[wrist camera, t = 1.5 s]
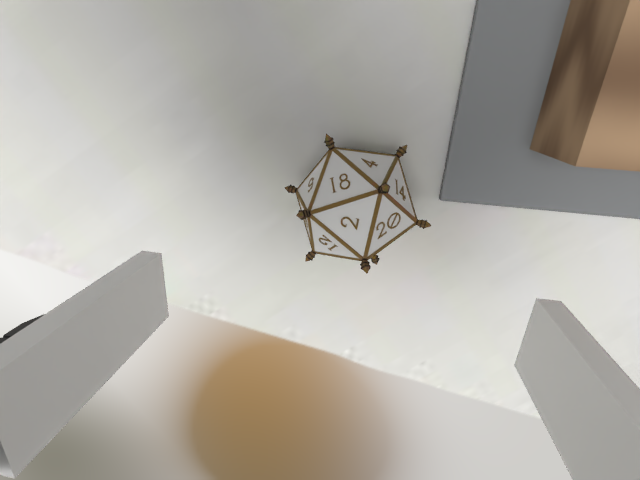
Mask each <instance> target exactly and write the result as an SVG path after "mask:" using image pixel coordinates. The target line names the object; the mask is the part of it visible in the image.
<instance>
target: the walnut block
mask: <svg viewBox="0 0 640 480" xmlns="http://www.w3.org/2000/svg"><path fill="white" fill-rule="evenodd" d="M530 150H533V151H536V152H538V153H541V154H544V155H546V156H549V157H552V158H554V159H557V160H560V161H562V162H565V163H568V164H570V165H573V166H577V167H589V168H602V169H614V170H627V171H639V172H640V0H571V1H570V5H569V8H568V12H567V16H566V19H565V23H564V27H563V30H562V34H561V37H560V41H559V45H558V48H557V52H556V55H555V59H554V63H553V66H552V70H551V74H550V77H549V81H548V84H547V88H546V92H545V95H544V99H543V103H542V106H541V110H540V113H539V117H538V121H537V124H536V128H535V131H534V135H533V139H532V142H531V146H530Z"/></svg>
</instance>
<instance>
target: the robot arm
mask: <svg viewBox="0 0 640 480" xmlns="http://www.w3.org/2000/svg"><path fill="white" fill-rule="evenodd" d="M168 316H169V315H168V306H167V298H166V289H165V281H164V272H163V264H162V255H161V253H155V252H147V251H141V252H140V253H138V254H136V255H135V256H133V257H132V258H130V259H129V260H127V261H126V262H124V263H123V264H121V265H120V266H118V267H117V268H115V269H114V270H112V271H111V272H109V273H107V274H106V275H104V276H103V277H101V278H100V279H98V280H97V281H95V282H94V283H92V284H91V285H90V286H88V287H86V288H85V289H83V290H82V291H80V292H79V293H77V294H76V295H74V296H72V297H71V298H70V299H68V300H66V301H65V302H63V303H62V304H60V305H59V306H57V307H56V308H54V309H53V310H51V311H50V312H48V313H47V314H45V315H41V316H39V317H37V318H34V319H32V320H29V321H27V322H24V323H22V324H20V325H19V326H18V327H16V328H14V329H13V330H11V331H9V332H8V333H6V334H5V335H4V336H3V338H0V475H1V476H7V477H11V478H16V476H18V474H19V473H20V472H21V471H22V470H23V469H24V468H25V467H26V466H27V465H28V464H29V463H30V462H31V461H32V459H34V457H35V456H36V455H37V454H38V453H39V452H40V451H41V450H42V449H43V448H44V447H45V446H46V445H47V444H48V443H49V442H50V441H51V439H53V437H54V436H55V435H56V434H57V433H58V432H59V431H60V430H61V429H62V428H63V427H64V426H65V425H66V424H67V423H68V422H69V421H70V420H71V419H72V418H73V417H74V415H75V414H76V413H77V412H78V411H79V410H80V409H81V408H82V407H83V406H84V405H85V404H86V403H87V402H88V401H89V400H90V399H91V398H92V396H93V395H94V394H95V393H96V392H97V391H98V390H99V389H100V388H101V387H102V386H103V385H104V384H105V383H106V381H108V380H109V379H110V378H111V377H112V375H113V374H114V373H115V372H116V371H117V370H118V369H119V368H120V367H121V366H122V365H123V364H124V363H125V362H126V361H127V360H128V359H129V357H130V356H131V355H132V354H133V353H134V352H135V351H136V350H137V349H138V348H139V347H140V346H141V345H142V344H143V343H144V342H145V341H146V339H147V338H148V337H149V336H150V335H151V334H152V333H153V332H154V331H155V330H156V329H157V328H158V327H159V326H160V325H161V324H162V323H163V321H165V320H166V319H167V318H168ZM515 367H516V369H517V371H518V373H519V375H520V377H521V379H522V381H523V383H524V385H525V387H526V389H527V391H528V393H529V395H530V397H531V399H532V401H533V403H534V405H535V407H536V408H537V410H538V412H539V414H540V416H541V418H542V420H543V422H544V424H545V426H546V428H547V430H548V432H549V434H550V436H551V438H552V440H553V442H554V444H555V446H556V448H557V450H558V451H559V454H560V456H561V457H562V459H563V461H564V463H565V465H566V467H567V469H568V471H569V473H570V475H571V477H572V479H573V480H640V389H639V388H638V387H637V385H636V384H635V383H634V382H633V381H632V380H631V379H630V378H629V376H628V375H627V374H626V373H625V372H624V371H623V370H622V369H621V368H620V366H619V365H618V364H617V363H616V362H615V361H614V360H613V359H612V358H611V356H610V355H609V354H608V353H607V352H606V351H605V350H604V349H603V347H602V346H601V345H600V344H599V343H598V342H597V341H596V340H595V339H594V337H593V336H592V335H591V334H590V333H589V332H588V331H587V330H586V329H585V327H584V326H583V325H582V324H581V323H580V322H579V321H578V320H577V318H576V317H575V316H574V315H573V314H572V313H571V312H570V311H569V310H568V308H567V307H566V306H565V305H564V304H563V303H562V302H561V301H554V300H546V299H537V298H536V301H535V304H534V307H533V310H532V313H531V316H530V319H529V322H528V325H527V328H526V331H525V334H524V337H523V340H522V343H521V347H520V350H519V353H518V356H517V359H516V362H515Z"/></svg>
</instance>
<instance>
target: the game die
mask: <svg viewBox="0 0 640 480" xmlns="http://www.w3.org/2000/svg"><path fill="white" fill-rule="evenodd" d="M324 143H326V146H327V147H328V148H329V150H328V152H327V153H326V154H325V155H324V156H323V158H322V159H321V160H320V161H319V163H318V164H317V165H316V166H315V167H314V169H313V170H312V171H311V172H310V174H309V175H308V176H307V177H306V178H305V180H304V181H303V182H302V183H301V185H300V186H299V187H298V188H296V187H295V186H291V185H290V186H287V187H285V189H286V190H287V191H288V192H289V193H290V192H291V193H296V195H297V199H298V202H299V206H300V209H301V210H299V213H298V214H297V215H296V216H298V217H299V218H300V219H301V220H304V223H305V227H306V230H307V234H308V237H309V241H310V244H311V248H312V251H311V252H308V254H307V255H306V261H310V260H312V259H313V258H315V257H314V256H315V254H316V253H317V254H323V255H328V256H334V257H340V258H346V259H352V260H358V261H362V263H361V264H360V265H361V269H362V270H364V271H365V272H366V273H368V271H369V269H370V265H369V262H368V261H367V260H368V259H370V258H371V259H372V260H371V261H372V262H373V263H375V264H377V263H378V261H379V258H378V256H377V255H376V254H377V253H378V252H380V251H381V250H382V249H384V248H385V247H387V246H388V245H389V244H391V243H392V242H393V241H395V240H396V239H397V238H399V237H400V236H401V235H403V234H404V233H405V232H407V231H408V230H409V229H411V228H412V227H413V226H415V225H418V226H420V227H422V228H423V229H424V228H426V227H429V226H431V225H430V224H429V223H428V222H427V220H426V221H424V220H418V219H417V217H416V214H415V210H414V207H413V203H412V200H411V197H410V193H409V190H408V187H407V183H406V180H405V176H404V173H403V170H402V166H401V163H400V160H399V158H400V157H401V156H403V154H404V153H406V149H407V145H405V146H402V147H399V149H398V150H397V153H396V154H395V155H394V154H386V153H378V152H370V151H362V150H355V149H347V148H339V147H334V142H333V138H332V137H330V136H329V135H327V134H326V138H325V141H324ZM306 261H305V262H306Z"/></svg>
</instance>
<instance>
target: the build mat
mask: <svg viewBox="0 0 640 480" xmlns="http://www.w3.org/2000/svg"><path fill="white" fill-rule="evenodd" d="M570 1H571V0H477V3H476V8H475V13H474V18H473V24H472V29H471V34H470V39H469V45H468V50H467V55H466V60H465V66H464V71H463V76H462V81H461V86H460V92H459V97H458V102H457V107H456V113H455V118H454V123H453V128H452V134H451V139H450V144H449V149H448V155H447V160H446V165H445V170H444V175H443V181H442V186H441V191H440V196H439V199H440V200H442V201H452V202H463V203H474V204H484V205H495V206H506V207H517V208H527V209H538V210H549V211H559V212H570V213H581V214H591V215H602V216H613V217H624V218H634V219H640V172H639V171H627V170H614V169H602V168H589V167H577V166H573V165H570V164H568V163H565V162H562V161H560V160H557V159H554V158H552V157H549V156H546V155H544V154H541V153H538V152H536V151H533V150H530V146H531V142H532V139H533V135H534V131H535V128H536V124H537V121H538V117H539V113H540V110H541V106H542V103H543V99H544V95H545V92H546V88H547V84H548V81H549V77H550V74H551V70H552V66H553V63H554V59H555V55H556V52H557V48H558V45H559V41H560V37H561V34H562V30H563V27H564V23H565V19H566V16H567V12H568V8H569V5H570Z"/></svg>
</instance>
